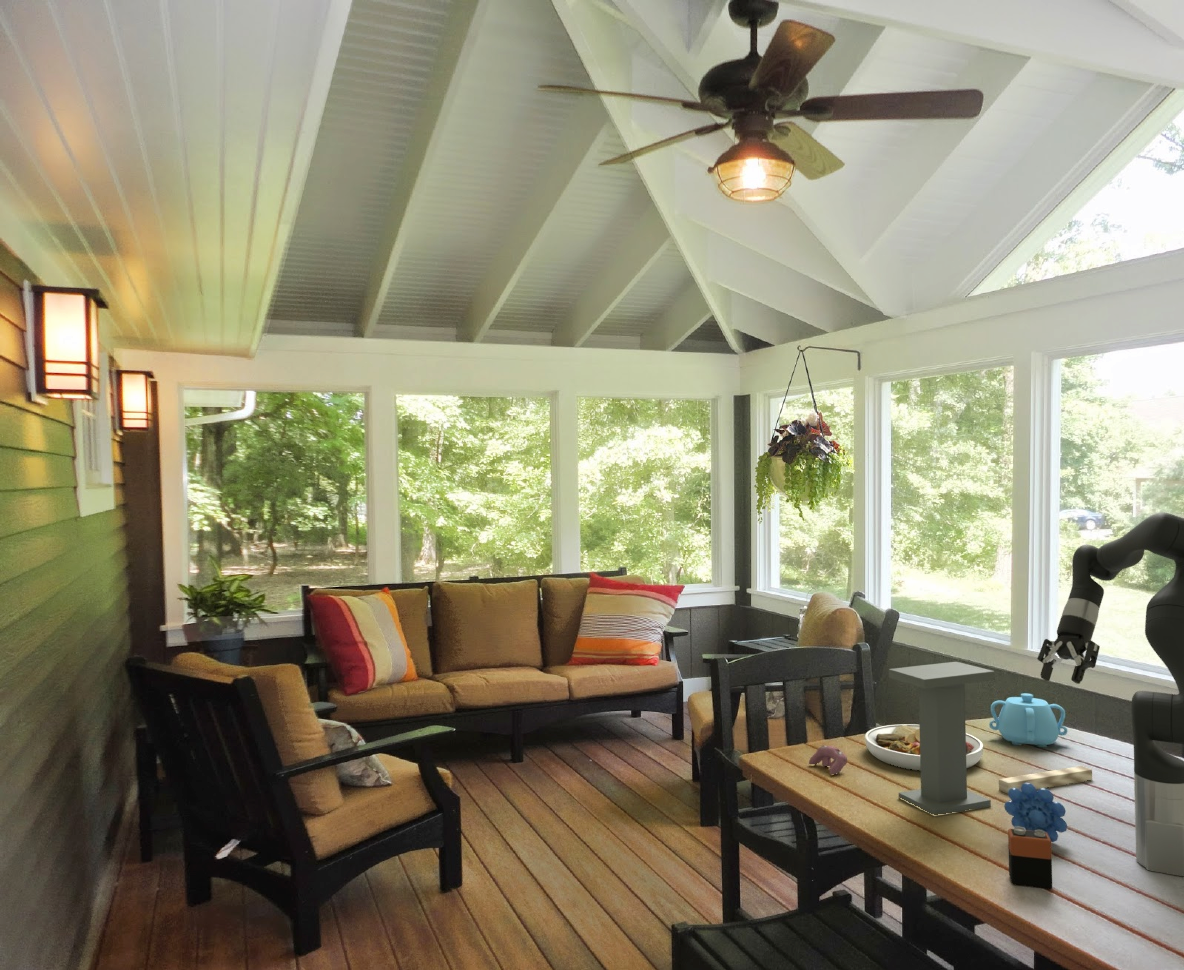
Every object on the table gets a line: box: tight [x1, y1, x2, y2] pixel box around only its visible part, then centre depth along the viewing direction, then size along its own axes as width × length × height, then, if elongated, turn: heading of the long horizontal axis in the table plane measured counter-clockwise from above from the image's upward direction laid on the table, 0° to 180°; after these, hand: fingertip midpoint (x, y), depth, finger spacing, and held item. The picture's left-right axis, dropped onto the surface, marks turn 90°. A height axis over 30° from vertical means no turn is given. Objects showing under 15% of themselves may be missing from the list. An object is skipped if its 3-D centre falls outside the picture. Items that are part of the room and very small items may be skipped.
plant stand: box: [888, 661, 996, 815], centre depth 200 cm, size 20×12×31 cm, turn 110°
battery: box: [1007, 826, 1053, 890], centre depth 160 cm, size 4×7×10 cm, turn 71°
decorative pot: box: [989, 692, 1068, 748], centre depth 245 cm, size 16×16×14 cm
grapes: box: [1003, 783, 1068, 843], centre depth 177 cm, size 12×7×12 cm, turn 68°
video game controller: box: [808, 744, 848, 775], centre depth 225 cm, size 10×5×7 cm, turn 24°
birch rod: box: [998, 765, 1093, 795], centre depth 210 cm, size 26×3×3 cm, turn 108°
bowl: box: [864, 723, 984, 772], centre depth 233 cm, size 30×30×8 cm
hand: (1059, 680), depth 206 cm, fingers open, 8 cm apart
